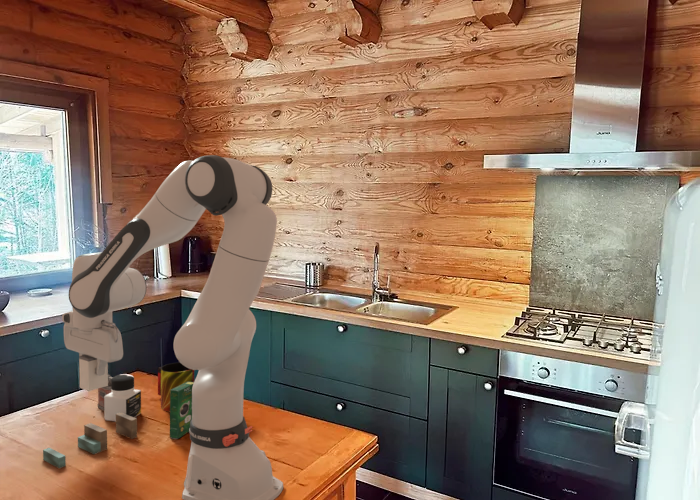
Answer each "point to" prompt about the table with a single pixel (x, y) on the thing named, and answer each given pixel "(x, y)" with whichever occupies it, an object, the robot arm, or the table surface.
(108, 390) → the lighter
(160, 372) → the mug
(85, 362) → the grey rectangular block
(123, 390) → the medicine bottle
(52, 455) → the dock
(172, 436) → the coffee box
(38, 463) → the table surface
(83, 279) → the robot arm
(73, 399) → the table surface
